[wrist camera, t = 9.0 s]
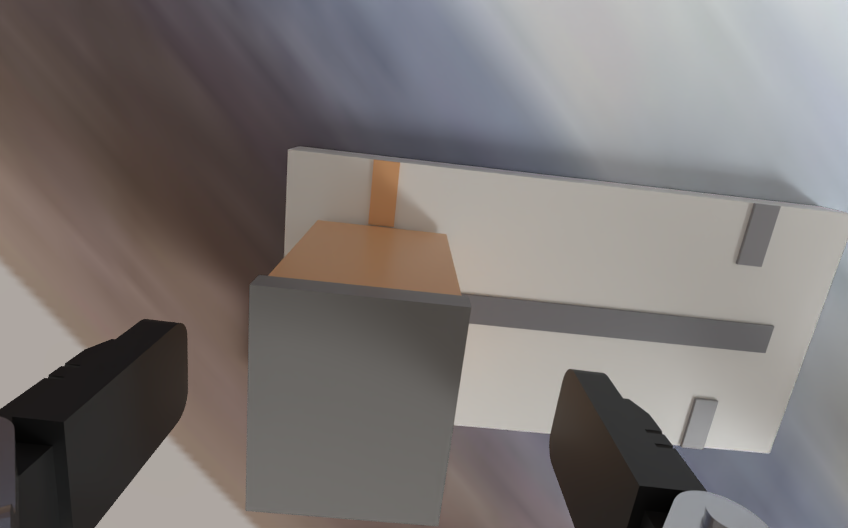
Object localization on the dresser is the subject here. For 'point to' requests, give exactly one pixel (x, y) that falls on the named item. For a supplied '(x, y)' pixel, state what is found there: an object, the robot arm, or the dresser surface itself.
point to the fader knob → (355, 375)
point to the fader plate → (603, 287)
